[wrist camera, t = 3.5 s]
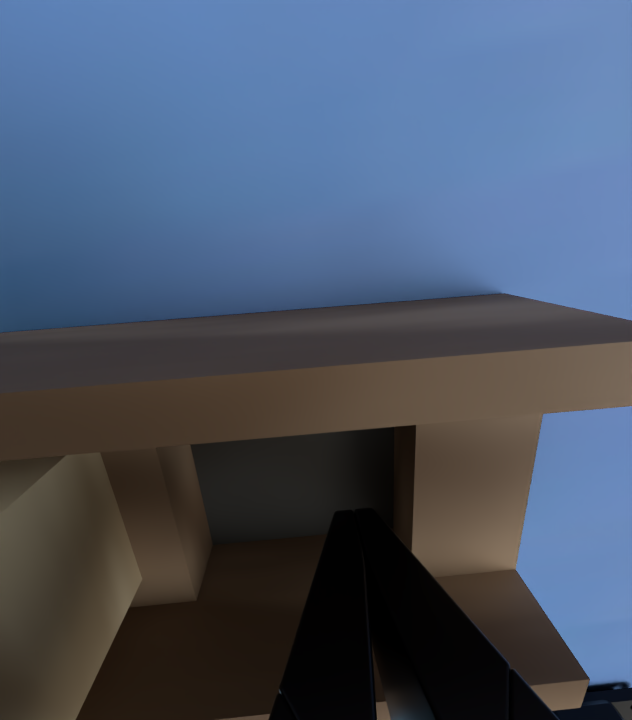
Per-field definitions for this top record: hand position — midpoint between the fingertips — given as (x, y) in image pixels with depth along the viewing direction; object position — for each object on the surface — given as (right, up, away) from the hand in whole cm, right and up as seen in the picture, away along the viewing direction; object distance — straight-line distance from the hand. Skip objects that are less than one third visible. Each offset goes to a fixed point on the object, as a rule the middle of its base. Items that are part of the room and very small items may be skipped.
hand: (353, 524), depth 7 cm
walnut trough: (-6, 0, +3) cm, 7 cm away
